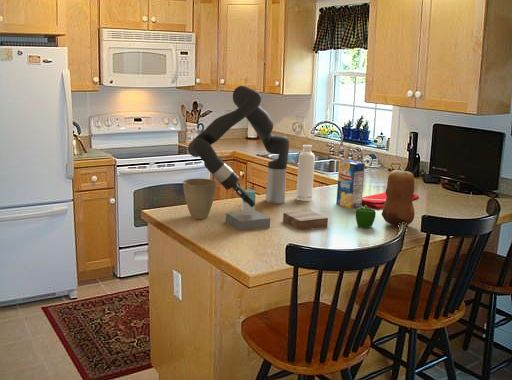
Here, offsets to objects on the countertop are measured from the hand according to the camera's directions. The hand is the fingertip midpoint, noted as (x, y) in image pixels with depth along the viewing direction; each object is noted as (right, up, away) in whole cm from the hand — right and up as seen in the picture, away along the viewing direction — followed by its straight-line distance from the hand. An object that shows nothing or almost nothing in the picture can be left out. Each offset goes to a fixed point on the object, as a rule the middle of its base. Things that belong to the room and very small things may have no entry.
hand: (252, 203), depth 247 cm
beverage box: (+48, -2, +43) cm, 65 cm away
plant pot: (-24, -6, +10) cm, 27 cm away
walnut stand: (+23, -9, +6) cm, 25 cm away
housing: (-2, -3, 0) cm, 4 cm away
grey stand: (-2, -9, +2) cm, 9 cm away
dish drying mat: (+70, 0, +56) cm, 90 cm away
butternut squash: (+64, -10, +10) cm, 65 cm away
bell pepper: (+49, -10, +6) cm, 50 cm away
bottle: (+26, +1, +52) cm, 58 cm away
